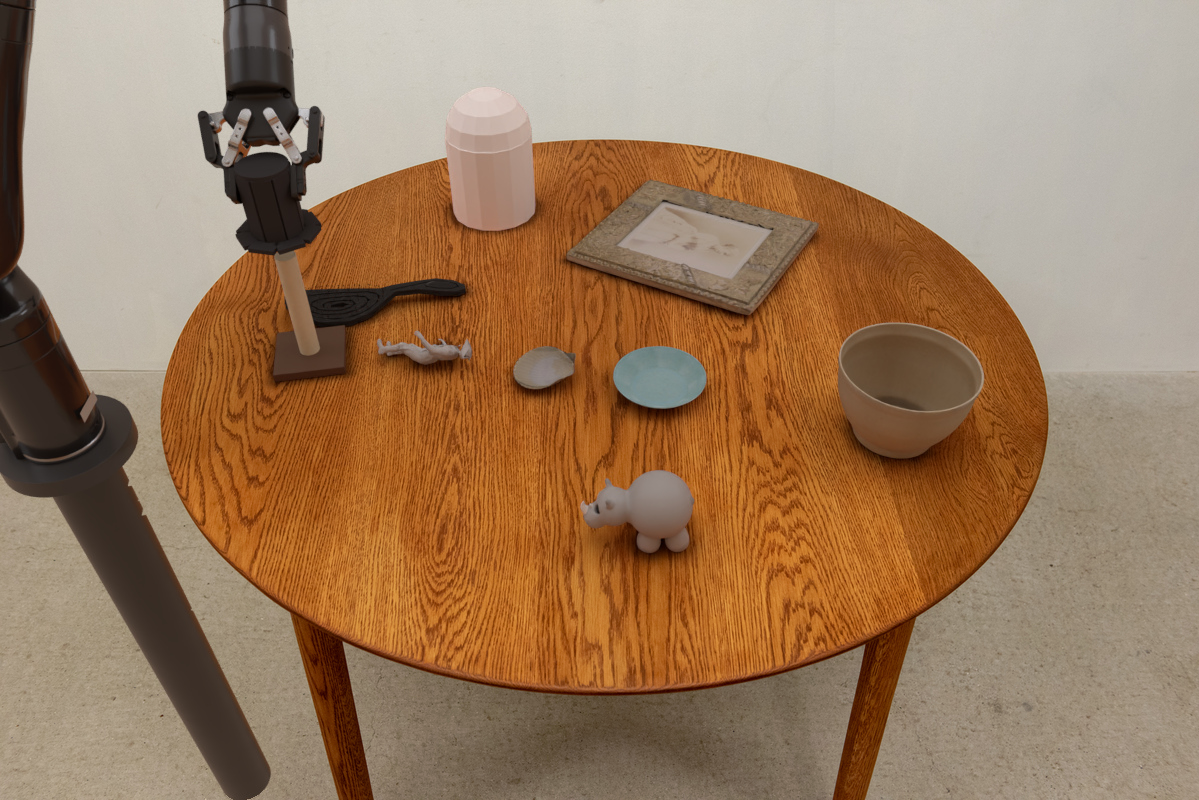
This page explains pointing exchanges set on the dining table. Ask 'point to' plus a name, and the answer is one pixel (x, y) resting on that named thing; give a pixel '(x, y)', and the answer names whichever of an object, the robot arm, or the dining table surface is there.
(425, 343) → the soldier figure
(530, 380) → the seashell
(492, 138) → the container
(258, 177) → the hat
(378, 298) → the hairbrush
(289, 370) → the stand
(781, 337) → the dining table surface
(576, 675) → the dining table surface
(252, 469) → the dining table surface
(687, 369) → the saucer
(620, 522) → the round bodied animal figurine
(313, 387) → the dining table surface
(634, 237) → the picture frame
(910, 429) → the planter bowl
